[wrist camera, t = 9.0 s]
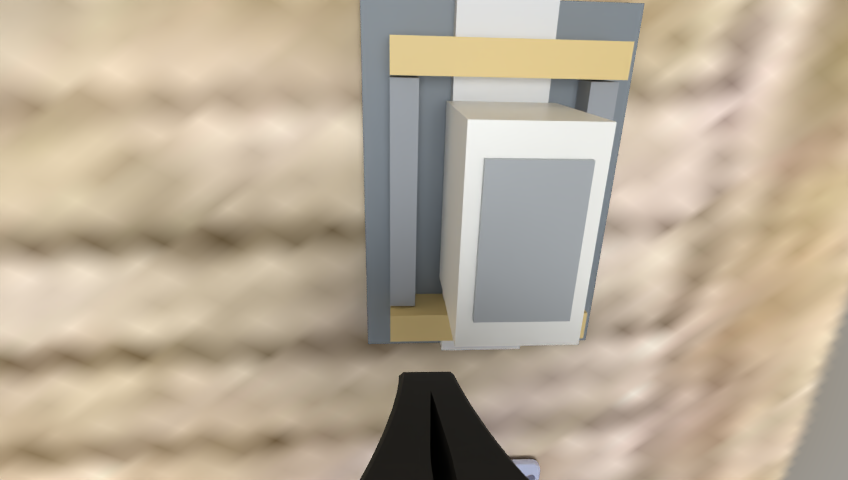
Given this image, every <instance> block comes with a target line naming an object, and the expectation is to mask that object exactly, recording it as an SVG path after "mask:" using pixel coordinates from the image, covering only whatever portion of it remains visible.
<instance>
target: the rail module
mask: <svg viewBox="0 0 848 480" xmlns="http://www.w3.org/2000/svg"><path fill="white" fill-rule="evenodd" d="M616 123H617V122H615V121H612V120H609V119H606V118H602V117H599V116H596V115H593V114H590V113H586V112H583V111H580V110H577V109H574V108H570V107H567V106H564V105H561V104H558V103H534V102H483V101H447V105H446V129H445V153H444V177H443V202H442V226H441V250H440V274H439V277H440V282H441V286H442V291H443V295H444V300H445V305H446V309H447V314H448V318H449V323H450V328H451V332H452V337H453V341H454V346H455V347H475V346H533V345H578V344H579V338H580V333H581V327H582V321H583V315H584V309H585V304H586V298H587V292H588V286H589V280H590V275H591V269H592V263H593V257H594V251H595V245H596V240H597V234H598V228H599V222H600V216H601V211H602V205H603V199H604V193H605V187H606V181H607V176H608V170H609V164H610V158H611V152H612V147H613V141H614V135H615V129H616Z"/></svg>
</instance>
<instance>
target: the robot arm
mask: <svg viewBox="0 0 848 480" xmlns="http://www.w3.org/2000/svg"><path fill="white" fill-rule="evenodd" d="M528 475H529V476H528ZM539 475H540V466H539V464H538V462H537V461H536V460H534V459H518V460H511V459H510V458H509V456H508V455H507V454H506V453H505V451H504V450H503V449H502V448H501V446H500V445H499V444H498V443H497V441H496V440H495V439H494V437H493V436H492V435H491V433H490V432H489V431H488V429H487V428H486V426H485V425H484V423H483V422H482V421H481V419H480V418H479V416H478V415H477V413H476V412H475V410H474V409H473V407H472V406H471V404H470V402H469V401H468V399H467V398H466V396H465V394H464V393H463V391H462V389H461V387H460V386H459V384H458V382H457V380H456V378H455V376H454V375H453V374H452V373H451V372H403V373H402V374H401V375H400V376H399V384H398V390H397V394H396V398H395V402H394V405H393V408H392V411H391V414H390V416H389V419H388V422H387V424H386V427H385V430H384V432H383V435H382V437H381V439H380V441H379V443H378V445H377V448H376V450H375V452H374V454H373V456H372V458H371V460H370V462H369V464H368V466H367V468H366V470H365V472H364V473H363V475H362V477H361V479H360V480H539Z"/></svg>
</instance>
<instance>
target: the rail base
mask: <svg viewBox="0 0 848 480" xmlns="http://www.w3.org/2000/svg"><path fill="white" fill-rule="evenodd" d="M644 4H645V3H615V2H586V1H560V0H360V16H361V59H362V102H363V145H364V188H365V231H366V274H367V316H368V344H389V343H440V344H441V350H488V349H520V346H475V347H455V346H454V341H453V337H452V332H451V328H450V323H449V318H448V314H447V309H446V305H445V300H444V295H443V291H442V286H441V282H440V277H439V274H440V250H441V226H442V202H443V177H444V153H445V129H446V105H447V101H483V102H534V103H558V104H561V105H564V106H567V107H570V108H574V109H577V110H580V111H583V112H586V113H590V114H593V115H596V116H599V117H602V118H606V119H609V120H612V121H615V122H617V123H616V129H615V135H614V141H613V147H612V152H611V158H610V164H609V170H608V176H607V181H606V187H605V193H604V199H603V205H602V211H601V216H600V222H599V228H598V234H597V240H596V245H595V251H594V257H593V263H592V269H591V275H590V280H589V286H588V292H587V298H586V304H585V309H584V315H583V321H582V327H581V333H580V338H579V340H585V339H586V333H587V327H588V322H589V316H590V310H591V305H592V299H593V293H594V288H595V282H596V276H597V270H598V265H599V259H600V253H601V248H602V242H603V236H604V231H605V225H606V219H607V214H608V208H609V202H610V197H611V191H612V185H613V180H614V174H615V168H616V163H617V157H618V151H619V146H620V140H621V134H622V128H623V123H624V117H625V111H626V106H627V100H628V94H629V89H630V83H631V77H632V72H633V66H634V60H635V55H636V49H637V43H638V38H639V32H640V26H641V21H642V15H643V9H644Z"/></svg>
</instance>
